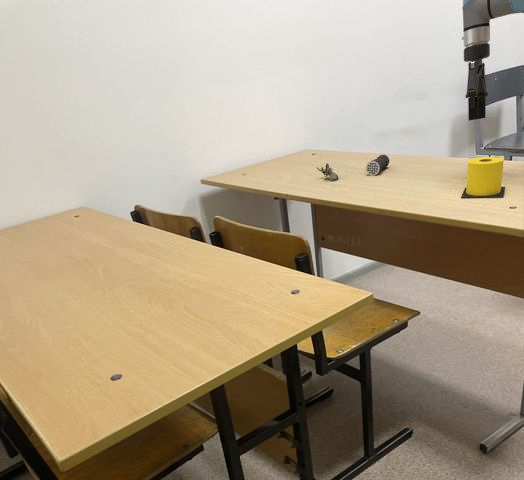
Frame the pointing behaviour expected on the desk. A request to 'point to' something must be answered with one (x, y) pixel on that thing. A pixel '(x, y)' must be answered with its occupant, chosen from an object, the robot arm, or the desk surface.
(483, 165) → the tape roll
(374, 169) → the flashlight
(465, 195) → the edge mat
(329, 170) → the eagle figurine
